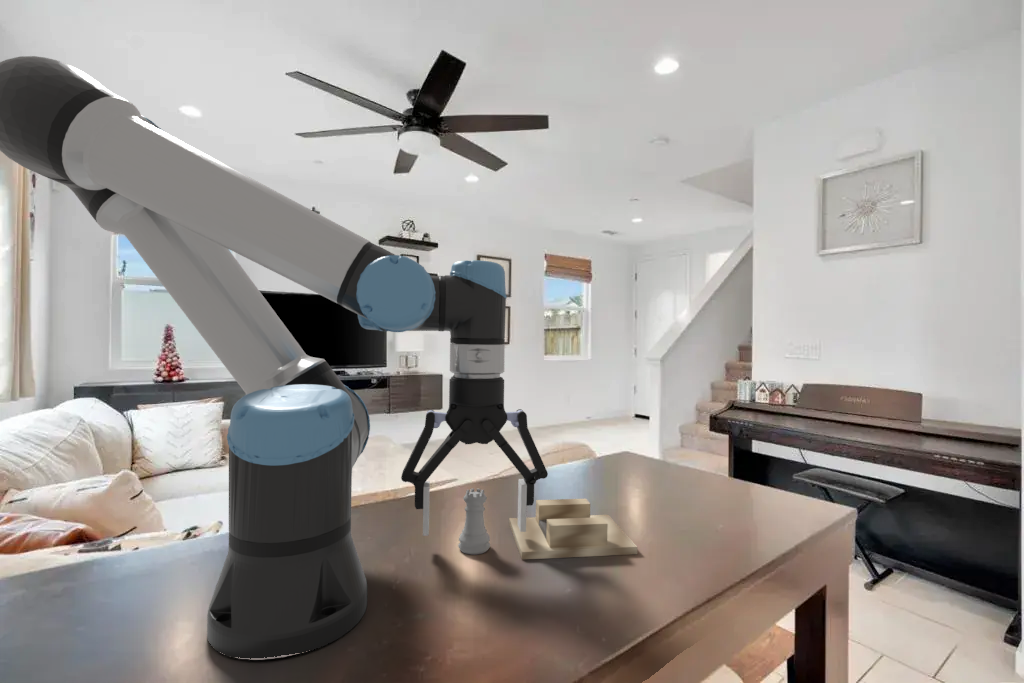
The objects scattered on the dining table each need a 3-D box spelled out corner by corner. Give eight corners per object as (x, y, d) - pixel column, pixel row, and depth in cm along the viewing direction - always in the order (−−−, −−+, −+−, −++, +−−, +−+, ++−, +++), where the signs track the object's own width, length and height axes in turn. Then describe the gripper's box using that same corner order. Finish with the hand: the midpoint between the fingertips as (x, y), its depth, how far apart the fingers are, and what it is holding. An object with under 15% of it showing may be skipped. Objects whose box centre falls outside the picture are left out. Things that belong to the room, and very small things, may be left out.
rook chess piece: (496, 546, 69) (497, 490, 69) (477, 559, 66) (478, 498, 65) (471, 539, 72) (471, 484, 72) (451, 550, 68) (452, 492, 68)
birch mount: (521, 559, 65) (522, 529, 65) (509, 524, 77) (509, 499, 77) (637, 554, 68) (637, 524, 68) (607, 520, 80) (608, 496, 80)
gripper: (381, 377, 63) (379, 545, 63) (571, 378, 66) (568, 537, 67) (388, 372, 70) (385, 522, 71) (558, 373, 74) (555, 516, 74)
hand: (474, 530), depth 69 cm, fingers open, 12 cm apart
